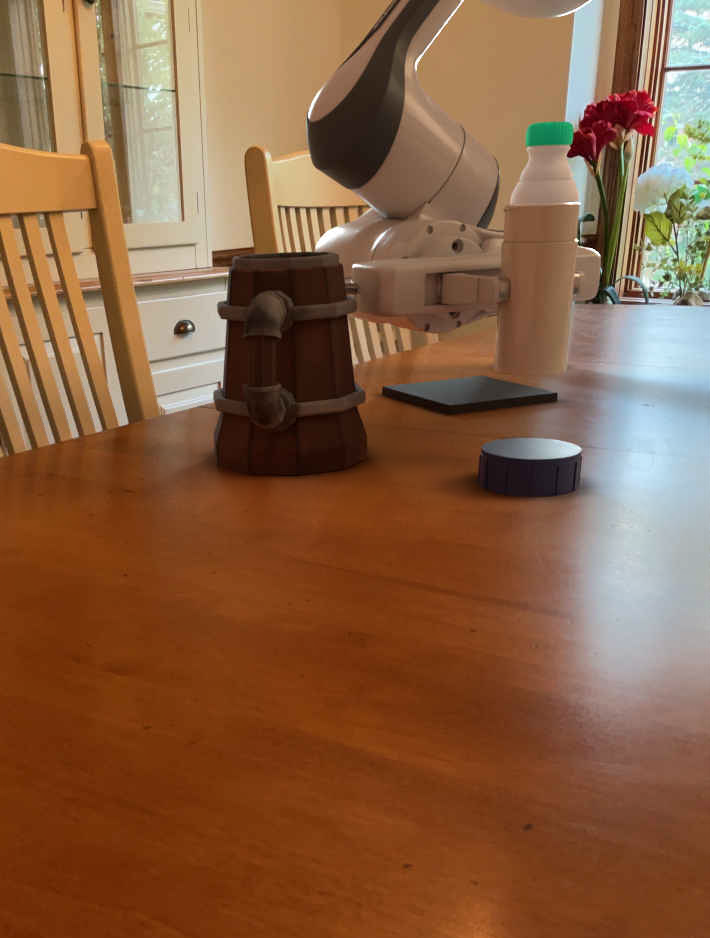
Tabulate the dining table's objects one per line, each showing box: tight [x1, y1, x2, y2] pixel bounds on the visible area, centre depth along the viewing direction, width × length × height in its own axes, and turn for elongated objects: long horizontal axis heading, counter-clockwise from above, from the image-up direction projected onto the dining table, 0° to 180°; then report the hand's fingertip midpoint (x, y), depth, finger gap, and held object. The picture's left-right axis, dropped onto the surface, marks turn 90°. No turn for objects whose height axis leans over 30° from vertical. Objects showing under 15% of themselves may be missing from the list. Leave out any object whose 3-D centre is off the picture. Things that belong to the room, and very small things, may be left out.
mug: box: [212, 251, 368, 477], centre depth 76 cm, size 16×12×15 cm
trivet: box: [381, 375, 559, 416], centre depth 101 cm, size 12×12×1 cm
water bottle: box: [509, 121, 580, 205], centre depth 113 cm, size 7×7×25 cm
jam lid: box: [477, 437, 583, 498], centre depth 71 cm, size 7×7×3 cm
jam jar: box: [493, 202, 581, 377], centre depth 75 cm, size 5×5×11 cm
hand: (540, 288), depth 75 cm, fingers closed on jam jar, 5 cm apart
